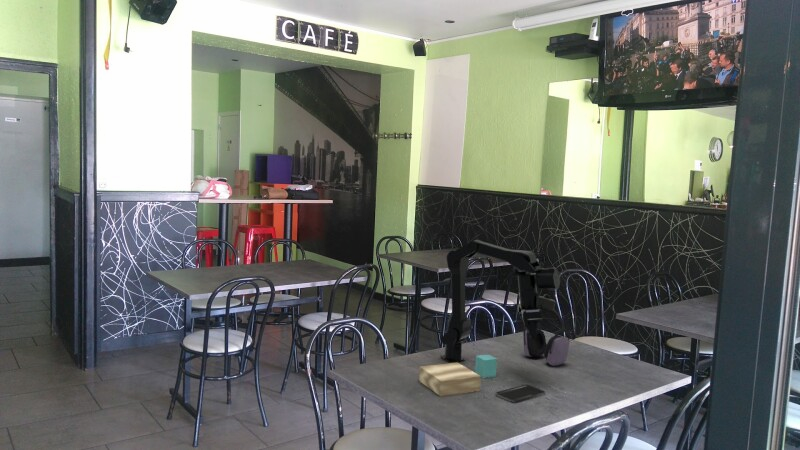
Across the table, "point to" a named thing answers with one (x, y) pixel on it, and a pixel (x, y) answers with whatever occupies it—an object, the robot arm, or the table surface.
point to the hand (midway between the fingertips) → (531, 336)
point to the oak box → (449, 379)
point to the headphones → (554, 348)
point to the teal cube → (486, 366)
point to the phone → (520, 393)
